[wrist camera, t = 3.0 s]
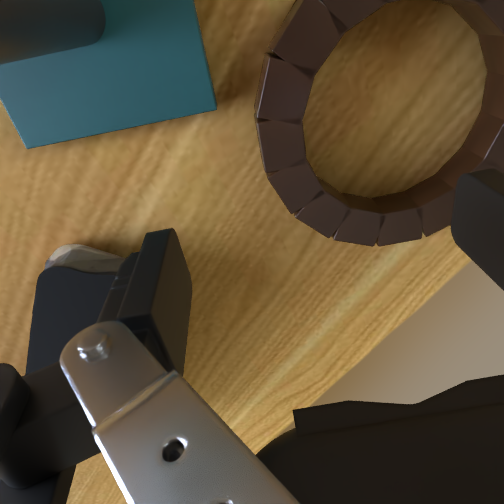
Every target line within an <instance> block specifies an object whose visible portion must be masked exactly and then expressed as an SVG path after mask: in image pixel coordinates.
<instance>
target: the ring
mask: <svg viewBox="0 0 504 504" xmlns="http://www.w3.org/2000/svg"><path fill="white" fill-rule="evenodd" d="M395 1H400V0H296V2H295V3H294V5H293V7H292V8H291V10H290V12H289V13H288V15H287V16H286V18H285V20H284V21H283V23H282V24H281V26H280V28H279V29H278V31H277V33H276V34H275V36H274V37H273V39H272V41H271V42H270V44H269V45H268V48H269V49H270V50H272V51H273V52H274V53H275V54H277V55H278V56H277V55H272V54H268V53H265V56H264V61H263V66H262V71H261V76H260V81H259V85H258V90H257V95H256V100H255V105H254V108H255V112H256V113H255V114H254V117H255V123H256V128H257V134H258V140H259V146H260V152H261V157H262V162H263V166H264V170H265V172H266V174H267V178H268V180H269V182H270V183H271V185H272V186H273V188H274V189H275V191H276V192H277V194H278V195H279V197H280V198H281V200H282V201H283V203H284V204H285V206H286V207H287V209H288V210H289V212H290V213H291V214H293V213H294V216H295V218H297V219H298V220H300V221H301V222H303V223H305V224H306V225H308V226H310V227H311V228H313V229H314V230H316V231H318V232H319V233H321V234H322V235H324V236H326V237H327V238H330V237H331V236H332V238H333V240H336V241H342V242H348V243H354V244H361V245H367V246H374V245H375V243H376V244H377V245H378V246H385V245H390V244H396V243H401V242H407V241H412V240H418V239H421V238H422V233H423V234H424V235H425V236H426V237H427V236H429V235H431V234H433V233H435V232H437V231H439V230H441V229H443V228H445V227H447V226H449V225H451V220H452V213H453V206H454V199H455V191H456V185H457V181H458V178H459V177H460V175H462V174H464V173H469V172H474V171H479V170H485V169H490V168H494V169H496V170H498V171H500V172H502V173H503V174H504V0H433V1H436V2H440V3H443V4H447V5H450V6H452V7H453V8H454V9H455V10H456V11H457V12H458V13H459V14H460V15H461V17H462V18H463V19H464V20H465V21H466V22H467V23H468V24H469V25H470V26H471V27H472V29H473V30H474V31H475V32H476V33H477V34H478V36H479V40H480V44H481V48H482V52H483V56H484V60H485V64H486V68H487V76H486V82H485V89H484V95H483V102H482V108H481V112H480V114H479V116H478V118H477V119H476V121H475V123H474V125H473V127H472V129H471V131H470V133H469V135H468V137H467V139H466V141H465V143H464V144H463V146H462V148H461V149H460V150H459V151H458V152H457V153H456V154H455V155H454V156H453V157H452V158H451V159H450V160H449V161H448V162H447V163H446V164H445V165H444V166H443V167H442V168H441V169H440V170H439V171H438V172H437V173H436V174H435V175H433V176H432V177H430V178H428V179H426V180H424V181H423V182H421V183H419V184H417V185H415V186H414V187H412V188H410V189H408V190H406V191H405V192H401V193H396V194H390V195H385V196H380V197H374V198H367V197H362V196H356V195H351V194H345V193H341V192H339V191H338V190H336V189H335V188H334V187H332V186H331V185H329V184H328V183H326V182H325V181H323V180H322V179H321V178H319V177H318V176H316V174H315V173H314V171H313V169H312V167H311V166H310V164H309V162H308V161H307V159H306V150H305V141H304V131H303V121H302V120H303V116H304V113H305V109H306V105H307V102H308V98H309V95H310V91H311V87H312V84H313V80H314V77H315V75H316V73H317V72H318V70H319V69H320V67H321V66H322V65H323V63H324V62H325V60H326V59H327V57H328V56H329V55H330V53H331V52H332V50H333V49H334V47H335V46H336V45H337V43H338V42H339V40H340V39H341V37H342V36H343V35H344V33H345V32H347V31H348V30H350V29H351V28H353V27H354V26H355V25H357V24H358V23H360V22H361V21H363V20H364V19H365V18H367V17H368V16H370V15H371V14H373V13H374V12H375V11H377V10H378V9H380V8H381V7H382V6H384V5H385V4H387V3H391V2H395Z"/></svg>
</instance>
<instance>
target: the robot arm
mask: <svg viewBox="0 0 504 504" xmlns="http://www.w3.org/2000/svg"><path fill="white" fill-rule="evenodd" d="M451 233H452V236H453V239H454V241H455V243H456V244H457V245H458V247H459V248H461V249H462V250H463V251H464V252H465V253H466V254H467V255H468V256H469V257H470V258H471V259H472V260H473V261H474V262H475V263H476V264H477V265H478V266H479V267H480V268H481V269H482V270H483V271H484V272H485V273H486V274H487V275H488V276H489V277H490V278H491V279H492V280H493V281H494V282H496V284H497V285H498V286H499V287H501V289H503V290H504V174H503V173H502V172H500V171H498V170H496V169H494V168H490V169H485V170H479V171H474V172H469V173H464V174H462V175H460V177H459V178H458V181H457V185H456V191H455V199H454V206H453V213H452V220H451ZM191 299H192V281H191V276H190V272H189V269H188V266H187V263H186V260H185V257H184V254H183V251H182V248H181V245H180V242H179V239H178V236H177V234H176V232H175V230H174V229H173V228H170V229H164V230H159V231H154V232H148V233H146V235H145V238H144V240H143V243H142V246H141V249H140V252H134V253H131V254H130V255H129V256H128V257H127V258H126V259H125V260H124V261H123V262H122V263H121V264H120V266H119V269H118V271H117V274H116V276H115V280H114V281H113V283H112V286H111V290H110V291H109V293H108V295H107V298H106V300H105V303H104V305H103V308H102V310H101V312H100V315H99V317H98V320H97V322H96V324H94V325H92V326H89V327H87V328H85V329H84V330H82V331H81V332H79V333H78V334H76V335H75V336H74V337H73V338H72V339H71V340H70V341H69V342H68V343H67V344H66V345H65V347H64V349H63V350H62V353H61V355H60V361H58V362H56V363H53V364H51V365H48V366H46V367H44V368H41V369H39V370H37V371H34V372H32V373H29V374H27V375H25V376H22V377H21V376H20V374H19V373H18V372H17V371H16V369H15V368H14V367H13V366H11V365H9V364H5V363H0V504H66V502H67V498H68V494H69V491H70V487H71V483H72V480H73V476H74V472H75V468H76V465H77V464H78V463H80V462H82V461H84V460H86V459H88V458H90V457H92V456H94V455H96V454H98V453H100V452H102V454H103V456H104V458H105V459H106V461H107V463H108V465H109V467H110V469H111V471H112V473H113V475H114V477H115V479H116V481H117V482H118V484H119V486H120V488H121V490H122V492H123V494H124V496H125V498H126V500H127V502H128V503H129V504H504V375H498V376H492V377H487V378H480V379H474V380H469V381H465V382H463V383H461V384H459V385H457V386H455V387H452V388H450V389H448V390H446V391H444V392H442V393H439V394H437V395H435V396H433V397H430V398H428V399H426V400H424V401H422V402H420V403H416V404H394V403H379V402H363V401H343V402H337V403H331V404H325V405H319V406H313V407H307V408H301V409H295V410H293V416H294V421H295V427H296V428H294V429H292V430H289V431H287V432H285V433H283V434H282V435H280V436H279V437H277V438H275V439H274V440H272V441H271V442H270V443H269V444H267V445H266V446H265V447H264V448H262V449H261V450H260V451H259V452H258V453H257V454H256V455H255V454H254V453H253V452H252V451H251V450H250V449H249V448H248V447H247V446H246V445H245V444H244V443H243V442H242V440H241V439H240V438H239V437H238V436H237V435H236V434H235V433H234V432H233V431H232V430H231V429H230V428H229V426H228V425H227V424H226V423H225V422H224V421H223V420H222V419H221V418H220V417H219V416H218V415H217V414H216V412H215V411H214V410H213V409H212V408H211V407H210V406H209V405H208V404H207V403H206V402H205V401H204V400H203V399H202V397H201V396H200V395H199V394H198V393H197V392H196V391H195V390H194V389H193V388H192V387H191V386H190V385H189V383H188V382H187V381H186V380H185V379H184V378H183V372H184V363H185V354H186V345H187V336H188V327H189V318H190V309H191Z"/></svg>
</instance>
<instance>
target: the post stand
mask: <svg viewBox="0 0 504 504" xmlns="http://www.w3.org/2000/svg"><path fill="white" fill-rule="evenodd" d="M0 99H1V101H2V103H3V105H4V107H5V109H6V111H7V113H8V115H9V116H10V118H11V120H12V122H13V124H14V126H15V128H16V130H17V132H18V133H19V135H20V137H21V139H22V141H23V143H24V145H25V147H26V148H27V149H30V148H35V147H39V146H44V145H49V144H54V143H59V142H64V141H69V140H73V139H78V138H83V137H88V136H93V135H98V134H102V133H107V132H112V131H117V130H122V129H127V128H131V127H136V126H141V125H146V124H151V123H156V122H160V121H165V120H170V119H175V118H180V117H185V116H190V115H194V114H199V113H204V112H209V111H214V110H217V102H216V97H215V93H214V88H213V84H212V79H211V75H210V71H209V66H208V62H207V57H206V53H205V48H204V44H203V39H202V35H201V30H200V26H199V21H198V17H197V12H196V8H195V3H194V0H0Z"/></svg>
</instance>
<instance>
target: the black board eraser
mask: <svg viewBox="0 0 504 504" xmlns="http://www.w3.org/2000/svg"><path fill="white" fill-rule="evenodd" d="M125 259H126V258H123V257H120V256H117V255H114V254H110V253H107V252H104V251H101V250H98V249H95V248H91V247H88V246H85V245H80V244H68V245H64V246H61V247H59V248H58V249H56V250H55V252H54V253H53V254H52V255H51V257H50V258H49V259H48V260H47V262H46V264H45V269H44V271H43V272H42V273H41V274H40V275H39V277H38V281H37V285H36V293H35V300H34V306H33V312H32V313H33V316H32V323H31V330H30V340H29V348H28V357H27V366H26V374H25V375H27V374H29V373H32V372H34V371H37V370H39V369H41V368H44V367H46V366H48V365H51V364H53V363H56V362H58V361H60V355H61V353H62V350H63V349H64V347H65V345H66V344H67V343H68V342H69V341H70V340H71V339H72V338H73V337H74V336H75V335H76V334H78V333H79V332H81V331H82V330H84V329H85V328H87V327H89V326H92V325H94V324H96V322H97V320H98V317H99V315H100V312H101V310H102V308H103V305H104V303H105V300H106V298H107V295H108V293H109V291H110V290H111V286H112V283H113V281H114V280H115V276H116V274H117V271H118V269H119V266H120V264H121V263H122V262H123V261H124V260H125Z"/></svg>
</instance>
